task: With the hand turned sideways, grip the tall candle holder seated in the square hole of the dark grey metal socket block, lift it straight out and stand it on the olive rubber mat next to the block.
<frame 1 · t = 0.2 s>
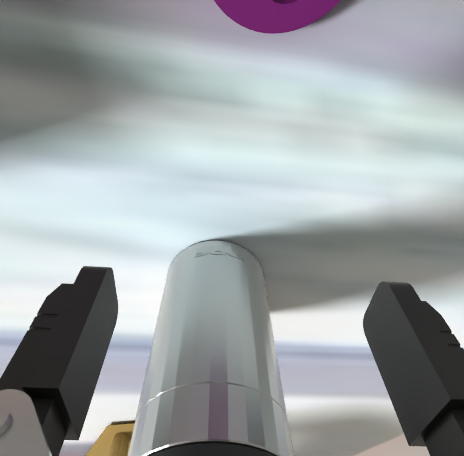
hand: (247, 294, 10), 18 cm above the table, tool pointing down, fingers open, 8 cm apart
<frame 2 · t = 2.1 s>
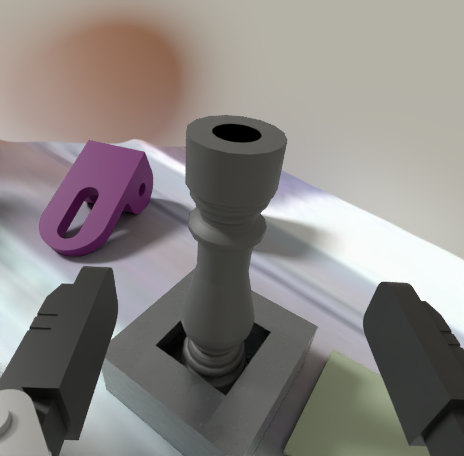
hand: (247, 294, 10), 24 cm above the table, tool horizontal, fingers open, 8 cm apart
mat: (371, 435, 31), on the table
candle holder: (211, 376, 34), resting in socket block
socket block: (211, 375, 34), on the table
mounting bracket: (99, 222, 53), on the table
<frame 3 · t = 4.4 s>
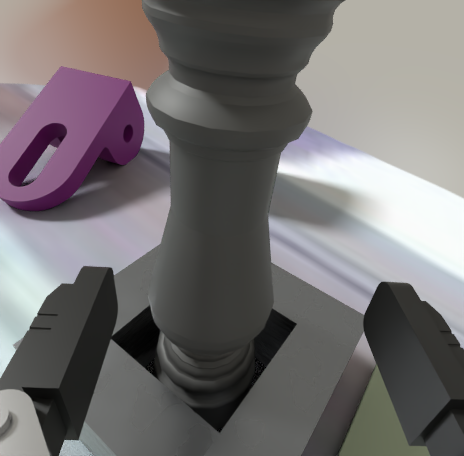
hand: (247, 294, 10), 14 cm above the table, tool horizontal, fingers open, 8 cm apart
candle holder: (202, 383, 23), resting in socket block
socket block: (203, 382, 23), on the table
mounting bracket: (73, 173, 41), on the table
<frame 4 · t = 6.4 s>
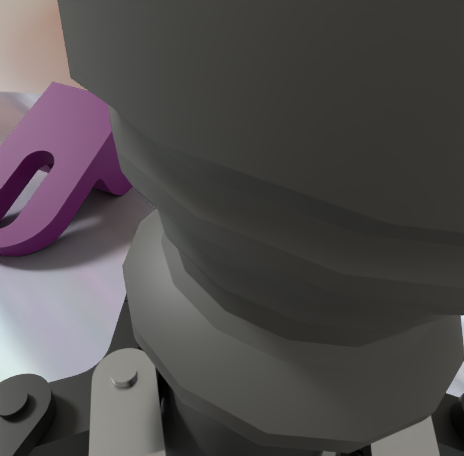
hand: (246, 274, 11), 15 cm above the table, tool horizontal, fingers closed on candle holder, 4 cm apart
mounting bracket: (63, 204, 36), on the table
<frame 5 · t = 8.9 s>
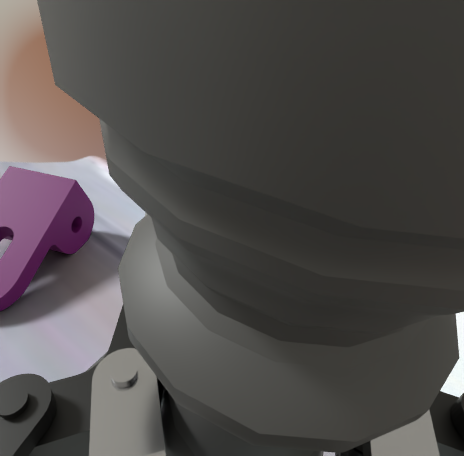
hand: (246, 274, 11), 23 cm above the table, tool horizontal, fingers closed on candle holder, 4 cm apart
mounting bracket: (23, 266, 43), on the table
when the fingers open (16 cm above the table, at t = 11.6 s): candle holder stays where it is, resting on mat.
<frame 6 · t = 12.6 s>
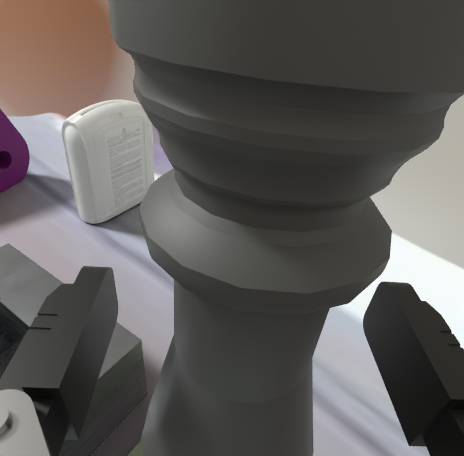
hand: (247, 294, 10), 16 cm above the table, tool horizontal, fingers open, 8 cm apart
photo printer: (119, 206, 42), on the table
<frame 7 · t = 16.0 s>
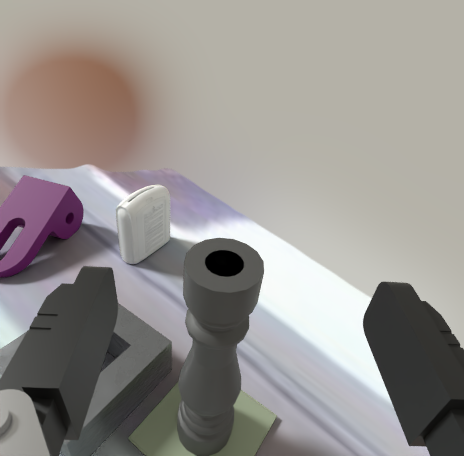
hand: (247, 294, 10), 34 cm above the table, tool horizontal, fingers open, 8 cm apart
photo printer: (146, 249, 63), on the table
mat: (205, 428, 39), on the table
candle holder: (204, 426, 39), resting on mat
socket block: (90, 378, 43), on the table
mounting bracket: (31, 246, 61), on the table
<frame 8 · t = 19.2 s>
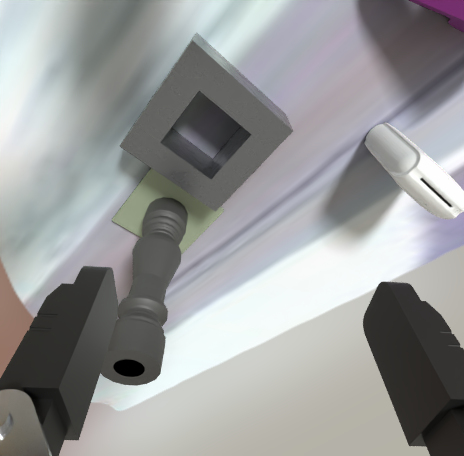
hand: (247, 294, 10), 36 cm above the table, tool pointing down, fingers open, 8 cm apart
photo printer: (394, 150, 47), on the table
mat: (167, 213, 52), on the table
candle holder: (167, 214, 51), resting on mat
socket block: (207, 121, 44), on the table
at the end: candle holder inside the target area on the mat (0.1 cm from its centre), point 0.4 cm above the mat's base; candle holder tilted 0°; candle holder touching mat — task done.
